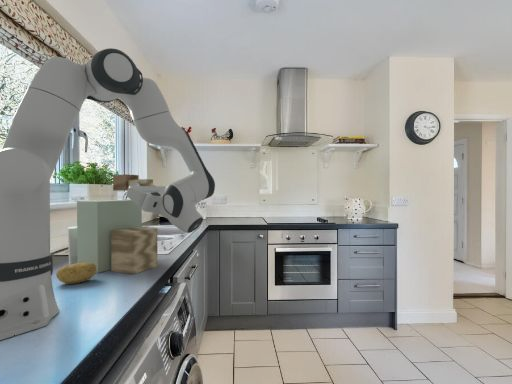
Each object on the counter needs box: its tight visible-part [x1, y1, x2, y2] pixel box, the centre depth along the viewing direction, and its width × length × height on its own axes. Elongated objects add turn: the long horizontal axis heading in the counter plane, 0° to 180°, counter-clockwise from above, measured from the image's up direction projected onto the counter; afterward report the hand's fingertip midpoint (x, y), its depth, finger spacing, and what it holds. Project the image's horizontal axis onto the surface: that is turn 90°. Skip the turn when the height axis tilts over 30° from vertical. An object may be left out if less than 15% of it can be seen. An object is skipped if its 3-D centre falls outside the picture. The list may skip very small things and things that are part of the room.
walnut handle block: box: [112, 174, 154, 192], centre depth 109 cm, size 6×16×6 cm, turn 64°
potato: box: [56, 262, 97, 285], centre depth 92 cm, size 7×11×6 cm, turn 114°
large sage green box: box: [76, 199, 143, 274], centre depth 114 cm, size 20×12×26 cm, turn 154°
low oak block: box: [110, 226, 159, 275], centre depth 109 cm, size 12×11×15 cm
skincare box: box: [67, 225, 77, 265], centre depth 115 cm, size 8×7×16 cm
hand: (141, 183), depth 107 cm, fingers closed on walnut handle block, 3 cm apart
